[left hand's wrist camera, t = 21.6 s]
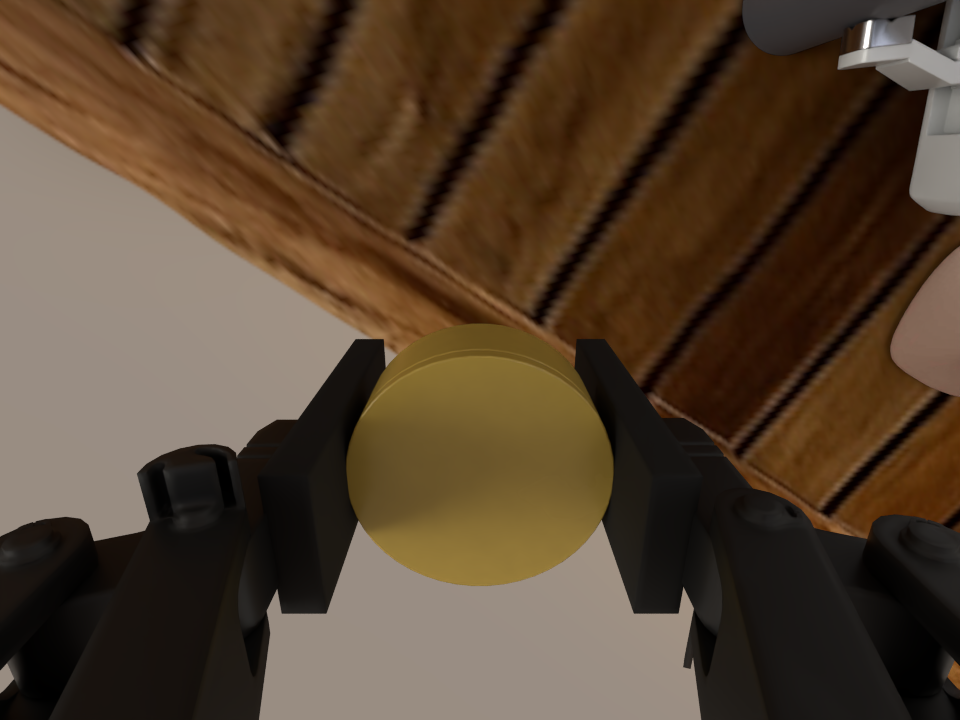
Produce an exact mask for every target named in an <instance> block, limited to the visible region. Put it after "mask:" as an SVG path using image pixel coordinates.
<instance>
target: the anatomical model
mask: <svg viewBox="0 0 960 720" xmlns="http://www.w3.org/2000/svg"><path fill="white" fill-rule="evenodd" d="M890 352H891V357H892V359H893V361H894V362H895V363H896V364H897V366H899V367H900V368H901V369H902V370H903V371H905V372H906V373H907V374H909V375H911V376H912V377H914V378H916V379H917V380H919V381H920V382H922V383H924V384H926V385H927V386H929V387H931V388H934V389H936V390H939V391H942V392H944V393H947V394H950V395H953V396H958V397H960V246H959V247H958V248H956V249H955V250H954V251H953V252H952V253H951V254H949V255H948V256H947V257H946V258H945V259H944V260H943V261H942V262H941V264H940V265H939V266H938V267H937V268H936V269H935V270H934V271H933V272H932V274H931V275H930V276H929V278H928V279H927V280H926V281H925V283H924V284H923V285H922V287H921V288H920V290H919V291H918V293H917V294H916V296H915V297H914V299H913V300H912V302H911V303H910V305H909V307H908V308H907V310H906V312H905V313H904V315H903V317H902V318H901V320H900V322H899V324H898V327H897V329H896V331H895V333H894V335H893V338H892V342H891V348H890Z"/></svg>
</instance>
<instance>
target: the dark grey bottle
mask: <svg viewBox="0 0 960 720" xmlns="http://www.w3.org/2000/svg"><path fill="white" fill-rule="evenodd" d="M945 1H948V0H743V22H744V26H745V29H746V32H747V34H748V36H749V38H750V39H751V41H752V42H753V43H754V44H755V45H756V46H757V47H758V48H759V49H761V50H762V51H764V52H766V53H769V54H773V55H780V56H782V55H790V54H794V53H797V52H800V51H803V50H806V49H809V48H812V47H814V46H817V45H820V44H823V43H826V42H829V41H832V40H835V39H838V38H840V37H842V35H843V29H845V28H847V27H853V26H855V25H856V24H858V23H861V22H865V21H869V20H874V19H881V18H883V19H888V20H891V19H894V18H897V17H901V16H904V15H907V14H910V13H913V12H916V11H919V10H922V9H924V8H927V7H930V6H933V5H936V4H939V3H942V2H945Z"/></svg>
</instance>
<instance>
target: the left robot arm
mask: <svg viewBox="0 0 960 720" xmlns="http://www.w3.org/2000/svg"><path fill="white" fill-rule="evenodd" d="M385 369H386V366H385V352H384V339H356V340H355V341H354V342H353V344H352V345H351V346H350V348H349V349H348V351H347V352H346V354H345V355H344V356H343V358H342V359H341V360H340V362H339V363H338V365H337V366H336V367H335V369H334V370H333V372H332V373H331V374H330V376H329V377H328V379H327V380H326V381H325V383H324V384H323V385H322V387H321V388H320V390H319V391H318V392H317V394H316V395H315V397H314V398H313V399H312V401H311V402H310V404H309V405H308V406H307V408H306V409H305V411H304V412H303V413H302V415H301V416H300V418H299V419H298V420H276V421H274V422H272V423H271V424H269V425H267V426H266V427H264V428H262V429H261V430H259V431H258V432H257V433H256V434H255V435H254V436H253V438H252V439H251V440H250V441H249V442H248V444H247V447H244V448H243V450H242V451H241V452H240V453H239V454H238V456H237V457H236V452H234V451H233V450H232V449H230V448H229V447H226V446H221V445H216V444H208V445H195V446H190V447H185V448H180V449H177V450H175V451H172V452H169V453H166V454H164V455H161V456H159V457H158V458H156V459H154V460H152V461H151V462H149V463H147V464H146V465H145V466H144V467H143V468H142V469H141V470H140V471H139V472H138V473H137V476H138V479H139V483H140V486H141V490H142V493H143V497H144V501H145V504H146V508H147V512H148V515H149V519H150V522H149V524H148V526H147V528H146V530H145V531H142V532H138V533H134V534H129V535H124V536H118V537H114V538H109V539H104V540H99V541H94V540H93V537H92V534H91V531H90V528H89V525H88V524H87V523H85V522H84V521H83V520H81V519H78V518H70V517H61V518H53V519H44V520H40V521H36V522H35V523H33V522H32V523H29V524H26V525H23V526H21V527H19V528H18V529H16V530H14V531H11V532H9V533H7V534H5V535H2V536H1V537H0V670H1V669H2V668H3V667H4V666H5V665H6V664H8V666H9V668H10V670H11V673H12V675H13V677H14V680H13V681H12V682H11V683H10V684H9V686H8V687H7V688H6V689H5V690H4V691H3V692H1V693H0V720H259V714H260V707H261V699H262V691H263V683H264V676H265V669H266V661H267V653H268V645H269V638H270V629H269V622H268V616H267V609H268V607H269V605H270V602H271V600H272V598H273V596H274V594H275V592H276V590H278V595H279V601H280V606H281V612H282V614H326V613H327V610H328V607H329V604H330V601H331V598H332V596H333V593H334V590H335V587H336V584H337V581H338V578H339V575H340V572H341V569H342V566H343V564H344V561H345V558H346V555H347V552H348V549H349V546H350V543H351V540H352V537H353V535H354V532H355V529H356V526H357V523H358V518H357V516H356V514H355V512H354V509H353V507H352V505H351V502H350V498H349V491H348V482H347V472H346V456H347V451H348V446H349V442H350V439H351V436H352V434H353V431H354V428H355V426H356V424H357V422H358V420H359V418H360V416H361V414H362V412H363V410H364V407H365V405H366V403H367V401H368V399H369V397H370V395H371V393H372V391H373V389H374V387H375V385H376V383H377V381H378V379H379V377H380V376H381V374H382V373H383V371H384V370H385ZM575 370H576V371H577V373H578V374H579V376H580V378H581V380H582V381H583V383H584V385H585V387H586V389H587V391H588V393H589V395H590V397H591V399H592V401H593V404H594V406H595V408H596V410H597V412H598V414H599V416H600V418H601V420H602V422H603V424H604V427H605V429H606V431H607V434H608V437H609V440H610V442H611V447H612V452H613V457H614V475H613V484H612V493H611V497H610V501H609V504H608V507H607V509H606V511H605V514H604V516H603V518H602V522H603V525H604V528H605V531H606V534H607V536H608V539H609V542H610V545H611V548H612V551H613V554H614V557H615V560H616V563H617V566H618V568H619V571H620V574H621V577H622V580H623V583H624V586H625V589H626V592H627V595H628V598H629V601H630V603H631V606H632V609H633V612H634V614H636V613H637V614H638V613H639V614H643V613H644V614H645V613H646V614H648V613H649V614H655V613H656V614H659V613H660V614H678V613H679V608H680V603H681V597H682V591H683V587H684V589H685V591H686V593H687V595H688V597H689V599H690V601H691V603H692V605H693V607H694V611H693V616H692V622H691V627H690V632H689V637H688V642H687V647H686V653H685V658H684V666H683V667H685V668H689V669H690V668H691V664H692V658H693V660H694V667H695V675H696V683H697V690H698V698H699V705H700V713H701V720H960V690H959V689H958V688H956V686H955V685H954V684H953V683H952V682H951V681H950V680H949V679H948V677H947V676H948V674H949V671H950V669H951V667H952V665H953V663H954V660H955V661H956V662H957V663H958V664H959V666H960V533H958V532H956V531H953V530H951V529H949V528H947V527H944V526H943V525H942V524H939V523H937V522H934V521H931V520H928V521H927V520H926V519H924V518H919V517H911V516H903V515H888V516H881V517H879V518H878V519H877V520H875V521H874V522H873V523H872V526H871V530H870V533H869V536H868V539H864V538H859V537H854V536H849V535H844V534H839V533H834V532H828V531H824V530H820V529H816V528H814V527H813V525H812V523H811V521H810V520H809V518H808V517H807V516H806V515H805V514H804V512H803V511H802V510H801V509H800V508H798V507H797V506H795V505H794V504H792V503H791V502H789V501H788V500H786V499H784V498H781V497H779V496H777V495H774V494H772V493H769V492H765V491H761V490H757V489H753V488H752V487H751V486H750V485H749V484H748V482H747V481H746V480H745V479H744V478H743V476H742V475H741V474H740V473H739V472H738V471H737V469H736V468H735V467H734V466H733V465H732V463H731V462H730V461H729V460H728V459H727V458H726V457H724V456H723V453H722V452H721V450H720V449H719V448H718V447H717V446H716V445H714V442H713V441H712V440H711V439H710V437H709V436H708V435H707V434H706V433H705V431H704V430H703V429H701V428H699V427H698V426H696V425H694V424H693V423H691V422H689V421H688V420H686V419H684V418H661V417H660V416H659V414H658V413H657V411H656V410H655V409H654V407H653V406H652V404H651V403H650V402H649V400H648V399H647V397H646V396H645V395H644V393H643V392H642V391H641V389H640V388H639V386H638V385H637V384H636V382H635V381H634V379H633V378H632V377H631V375H630V374H629V372H628V371H627V370H626V368H625V367H624V365H623V364H622V363H621V361H620V360H619V359H618V357H617V356H616V354H615V353H614V352H613V350H612V349H611V347H610V346H609V345H608V343H607V342H606V340H605V339H577V342H576V356H575Z"/></svg>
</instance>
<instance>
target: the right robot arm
mask: <svg viewBox="0 0 960 720" xmlns="http://www.w3.org/2000/svg"><path fill="white" fill-rule="evenodd" d="M915 17H916V15H907V16H901V17H897V18H894V19H891V20H888V19H883V18H881V19H874V20H869V21H865V22H861V23H858V24H856V25H855V26H853V27H847V28H845V29H843V35H842V41H841V47H840V54H839V62H838V70H844V69H853V68H862V67H872V66H876V70H877V71H879V72H881V73H882V74H884V75H885V76H887V77H888V78H890V79H892V80H893V81H895V82H896V83H898V84H899V85H901V86H902V87H904V88H906V89H907V90H909V91H914V90H923V89H929V92H928V97H927V102H926V108H925V113H924V118H923V123H922V128H921V133H920V138H919V143H918V149H917V154H916V159H915V164H914V169H913V174H912V179H911V183H910V190H909V193H910V196H911V198H912V199H913V200H914V201H915V202H916V203H918V204H919V205H920V206H922V207H923V208H924V209H926V210H927V211H930V212H934V213H940V214H947V215H957V216H960V0H948V1H946V5H945V10H944V15H943V20H942V26H941V31H940V36H939V41H938V46H937V50H933V49H931V48H929V47H927V46H926V45H924V44H922V43H920V42H918V41H916V40H914V39H912V37H913V30H914V23H915Z"/></svg>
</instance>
